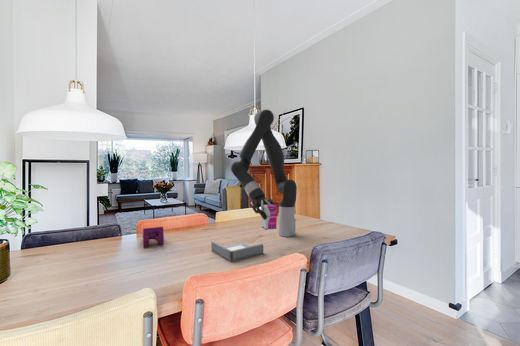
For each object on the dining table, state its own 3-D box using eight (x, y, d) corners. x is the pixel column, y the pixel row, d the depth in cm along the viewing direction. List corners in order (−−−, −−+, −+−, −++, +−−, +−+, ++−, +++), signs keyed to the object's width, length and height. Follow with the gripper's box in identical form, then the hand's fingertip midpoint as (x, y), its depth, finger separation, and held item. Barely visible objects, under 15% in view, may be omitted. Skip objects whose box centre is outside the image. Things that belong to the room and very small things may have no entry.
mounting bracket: (142, 251, 144) (143, 245, 130) (142, 235, 147) (143, 228, 133) (160, 248, 149) (164, 243, 134) (160, 233, 152) (163, 226, 137)
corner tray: (242, 244, 139) (242, 235, 139) (263, 253, 125) (263, 244, 124) (211, 250, 128) (211, 241, 128) (230, 262, 114) (230, 252, 114)
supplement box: (266, 230, 126) (266, 206, 126) (261, 227, 132) (261, 204, 131) (276, 229, 129) (277, 205, 128) (271, 226, 134) (271, 203, 134)
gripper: (248, 188, 129) (265, 215, 122) (267, 186, 140) (284, 210, 132) (240, 197, 133) (257, 224, 126) (260, 195, 144) (276, 219, 136)
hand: (271, 217), depth 129 cm, fingers closed on supplement box, 7 cm apart
